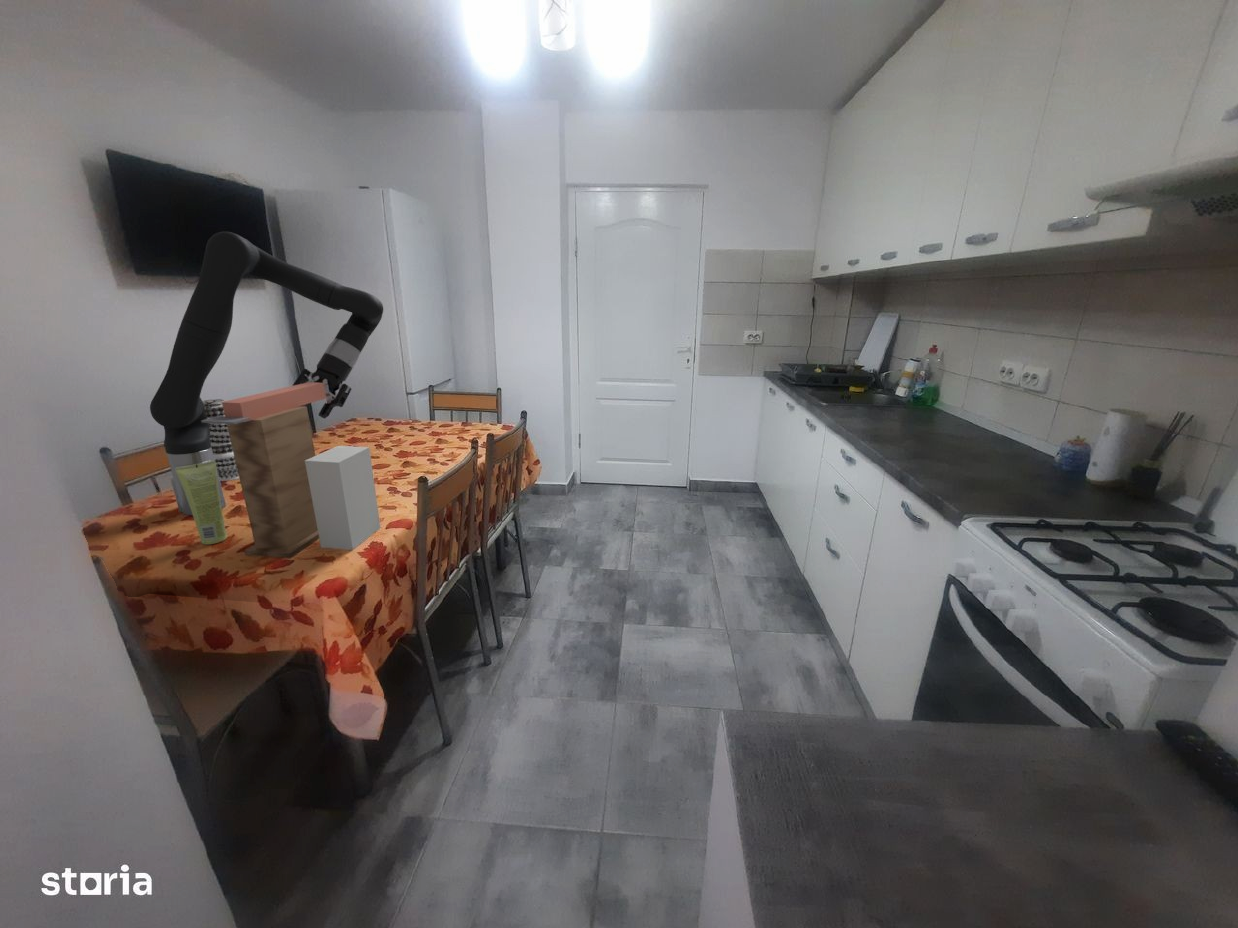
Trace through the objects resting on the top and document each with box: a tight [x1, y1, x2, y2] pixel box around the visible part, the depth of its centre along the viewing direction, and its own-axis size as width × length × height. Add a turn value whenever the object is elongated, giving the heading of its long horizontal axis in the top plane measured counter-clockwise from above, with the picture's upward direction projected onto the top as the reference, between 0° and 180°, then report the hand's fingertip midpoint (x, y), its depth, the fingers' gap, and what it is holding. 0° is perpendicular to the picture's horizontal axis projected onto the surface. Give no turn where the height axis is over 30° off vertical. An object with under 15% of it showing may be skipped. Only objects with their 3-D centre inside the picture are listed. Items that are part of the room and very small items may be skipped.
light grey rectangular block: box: [305, 445, 381, 551], centre depth 118 cm, size 8×12×22 cm, turn 175°
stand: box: [227, 405, 320, 559], centre depth 115 cm, size 11×17×32 cm, turn 175°
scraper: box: [201, 382, 326, 424], centre depth 111 cm, size 7×30×4 cm, turn 175°
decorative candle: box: [202, 398, 240, 482], centre depth 155 cm, size 9×9×25 cm
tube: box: [175, 461, 228, 545], centre depth 116 cm, size 6×5×20 cm
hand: (308, 411), depth 129 cm, fingers open, 8 cm apart
